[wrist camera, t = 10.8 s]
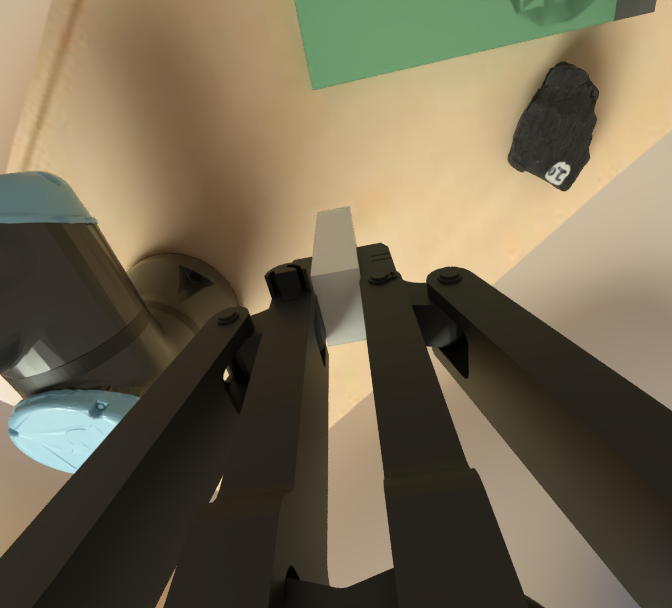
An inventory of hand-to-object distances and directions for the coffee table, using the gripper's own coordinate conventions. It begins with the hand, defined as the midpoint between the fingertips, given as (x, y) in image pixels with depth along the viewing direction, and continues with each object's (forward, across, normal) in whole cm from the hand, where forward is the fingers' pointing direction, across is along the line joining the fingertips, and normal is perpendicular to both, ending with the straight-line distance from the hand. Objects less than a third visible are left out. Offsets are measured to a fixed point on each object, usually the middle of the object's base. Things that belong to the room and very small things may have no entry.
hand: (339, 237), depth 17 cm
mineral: (+27, +21, -3) cm, 34 cm away
